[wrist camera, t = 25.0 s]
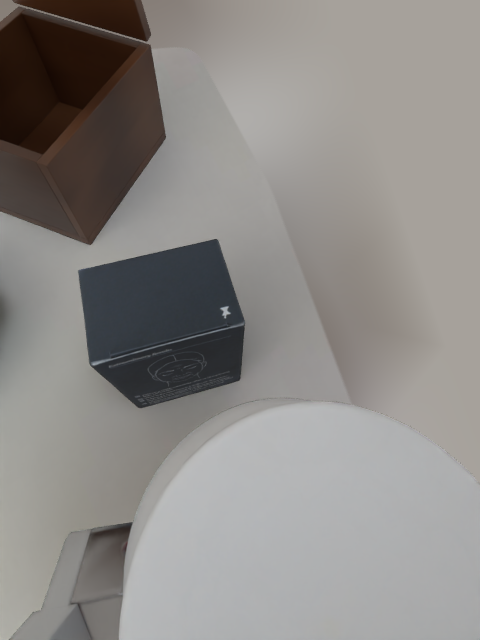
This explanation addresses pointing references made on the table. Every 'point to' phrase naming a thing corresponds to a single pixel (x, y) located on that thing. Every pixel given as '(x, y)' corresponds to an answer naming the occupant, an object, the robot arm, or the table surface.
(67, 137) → the chest
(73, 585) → the robot arm
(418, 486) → the pill bottle
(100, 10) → the chest lid
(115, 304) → the box
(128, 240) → the table surface
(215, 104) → the table surface
